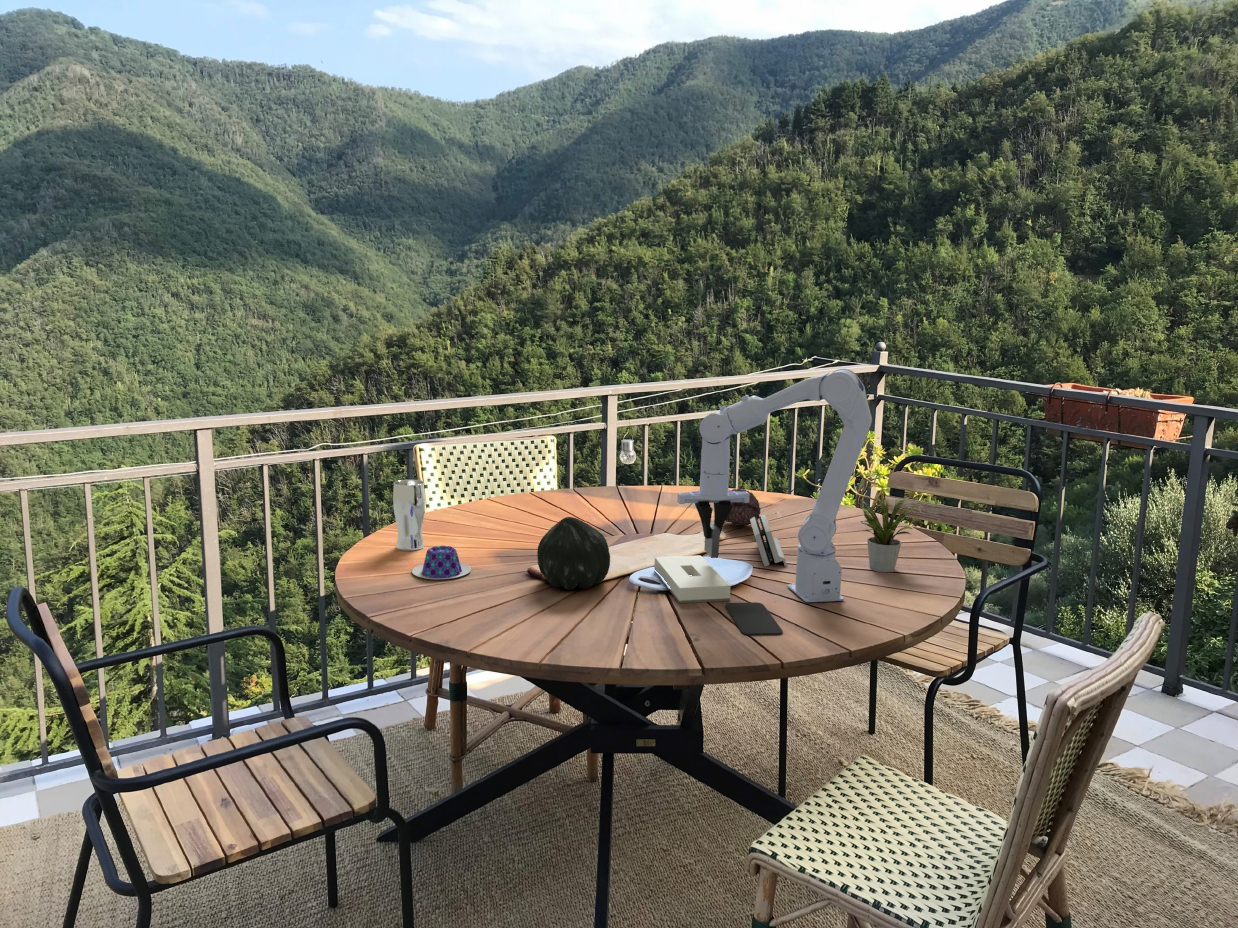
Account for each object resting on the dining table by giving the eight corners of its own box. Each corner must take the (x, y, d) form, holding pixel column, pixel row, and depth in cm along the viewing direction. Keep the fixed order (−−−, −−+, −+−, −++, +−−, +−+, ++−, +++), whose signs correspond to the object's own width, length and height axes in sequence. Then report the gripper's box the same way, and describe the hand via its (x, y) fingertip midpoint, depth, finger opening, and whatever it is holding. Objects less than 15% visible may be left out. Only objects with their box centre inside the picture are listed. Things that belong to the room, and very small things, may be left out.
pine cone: (771, 536, 212) (773, 496, 210) (732, 537, 210) (734, 497, 208) (746, 518, 229) (747, 481, 227) (710, 519, 227) (711, 482, 225)
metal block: (718, 557, 174) (720, 529, 173) (711, 557, 174) (712, 529, 173) (711, 549, 179) (713, 521, 178) (704, 549, 179) (706, 521, 178)
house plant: (920, 562, 193) (927, 491, 190) (924, 581, 180) (931, 505, 177) (854, 556, 196) (859, 486, 193) (853, 574, 183) (859, 499, 180)
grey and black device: (787, 566, 188) (774, 523, 186) (766, 572, 188) (752, 530, 187) (779, 545, 204) (767, 506, 203) (760, 551, 205) (747, 511, 203)
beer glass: (387, 548, 194) (385, 483, 192) (408, 541, 201) (407, 478, 198) (411, 553, 191) (410, 487, 189) (432, 545, 197) (431, 481, 195)
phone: (742, 633, 148) (723, 602, 163) (742, 638, 149) (723, 606, 163) (784, 632, 149) (762, 602, 164) (784, 637, 149) (761, 606, 164)
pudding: (402, 570, 180) (402, 546, 179) (455, 561, 187) (455, 538, 186) (426, 586, 171) (426, 560, 170) (481, 576, 178) (481, 551, 177)
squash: (607, 543, 183) (563, 495, 177) (634, 566, 169) (587, 515, 163) (558, 590, 181) (512, 543, 175) (581, 617, 168) (532, 567, 162)
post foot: (729, 600, 166) (730, 585, 165) (679, 603, 164) (679, 587, 163) (699, 568, 185) (700, 555, 184) (654, 570, 183) (654, 557, 182)
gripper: (742, 467, 179) (739, 531, 181) (674, 468, 176) (672, 532, 179) (754, 474, 172) (750, 540, 175) (683, 475, 169) (681, 542, 172)
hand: (711, 537), depth 176 cm, fingers closed on metal block
